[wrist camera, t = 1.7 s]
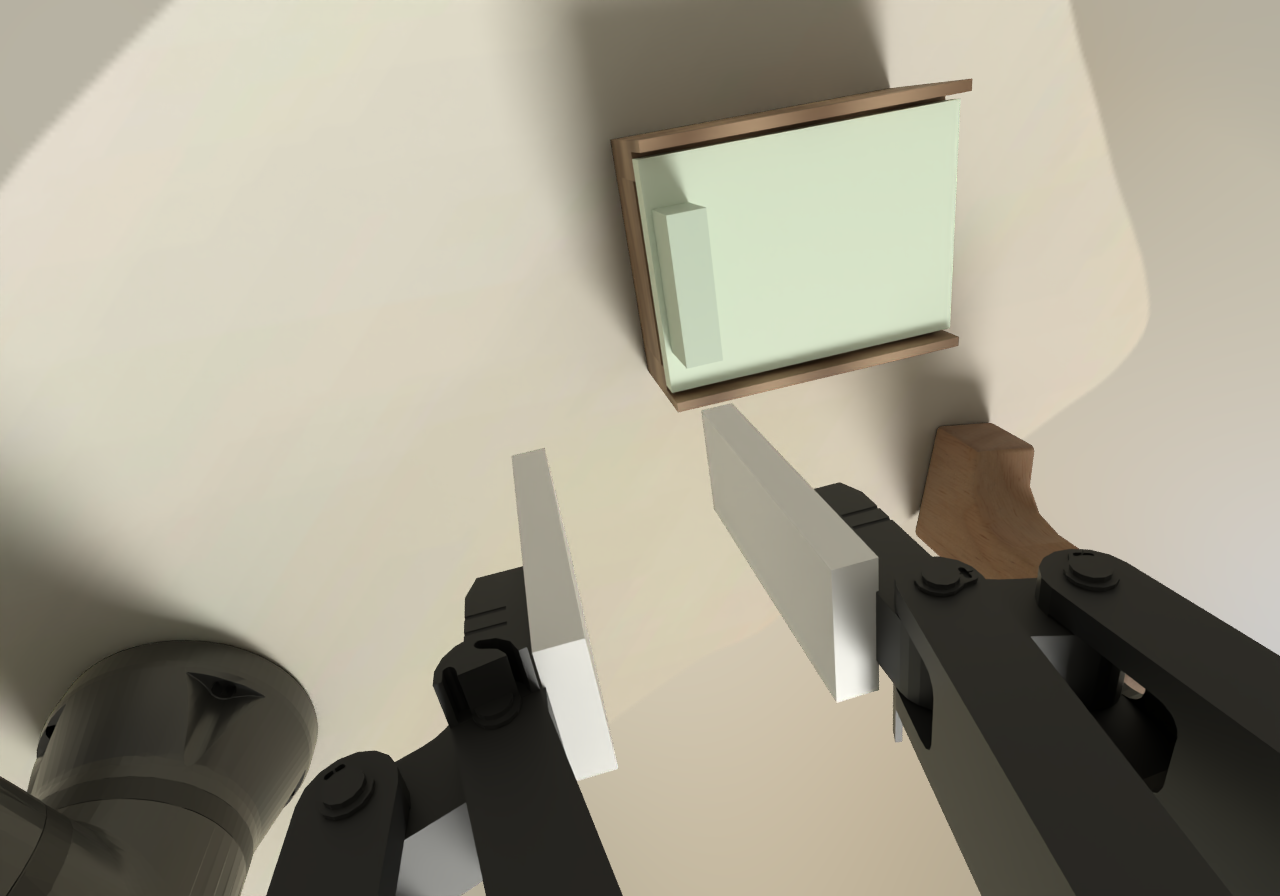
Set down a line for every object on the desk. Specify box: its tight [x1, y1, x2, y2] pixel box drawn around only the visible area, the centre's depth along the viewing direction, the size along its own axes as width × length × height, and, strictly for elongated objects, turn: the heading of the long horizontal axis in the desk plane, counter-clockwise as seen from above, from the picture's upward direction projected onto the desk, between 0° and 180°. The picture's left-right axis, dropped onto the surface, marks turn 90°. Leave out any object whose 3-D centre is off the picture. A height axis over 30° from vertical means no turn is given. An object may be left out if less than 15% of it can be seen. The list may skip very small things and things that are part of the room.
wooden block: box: [916, 423, 1145, 694], centre depth 42 cm, size 9×4×18 cm, turn 179°
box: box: [610, 79, 972, 412], centre depth 36 cm, size 16×13×7 cm
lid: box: [632, 99, 960, 393], centre depth 33 cm, size 16×11×4 cm
